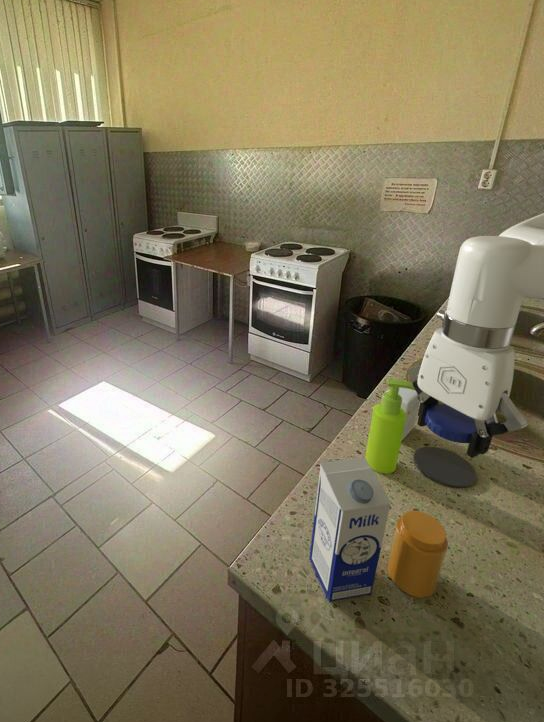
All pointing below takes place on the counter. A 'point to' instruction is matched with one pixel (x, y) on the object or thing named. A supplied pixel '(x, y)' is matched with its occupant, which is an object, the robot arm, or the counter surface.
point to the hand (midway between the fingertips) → (449, 437)
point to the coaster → (444, 467)
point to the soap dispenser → (387, 429)
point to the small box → (408, 408)
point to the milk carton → (348, 527)
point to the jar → (417, 553)
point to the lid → (450, 423)
